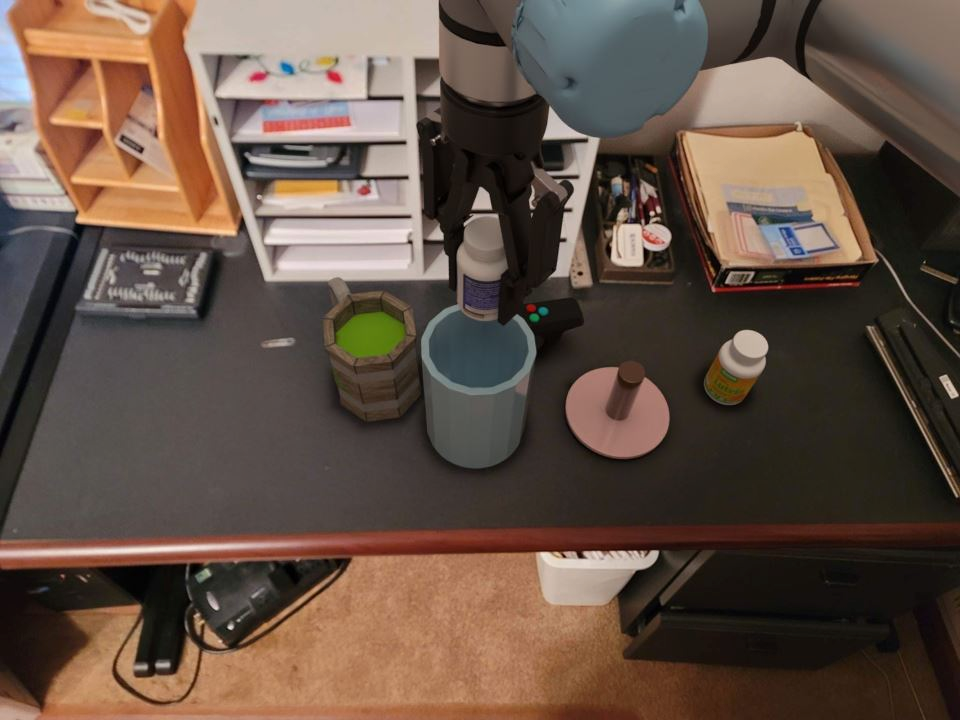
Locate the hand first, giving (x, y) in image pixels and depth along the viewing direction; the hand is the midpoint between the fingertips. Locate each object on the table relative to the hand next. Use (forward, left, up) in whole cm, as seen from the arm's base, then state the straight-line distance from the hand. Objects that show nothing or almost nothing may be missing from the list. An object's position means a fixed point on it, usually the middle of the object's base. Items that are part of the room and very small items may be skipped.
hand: (485, 298), depth 65 cm
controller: (+2, -12, -24) cm, 27 cm away
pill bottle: (0, 0, 0) cm, 1 cm away
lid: (-12, -12, -23) cm, 28 cm away
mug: (+15, +4, -24) cm, 28 cm away
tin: (0, +1, -23) cm, 23 cm away
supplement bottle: (-20, -24, -24) cm, 39 cm away
